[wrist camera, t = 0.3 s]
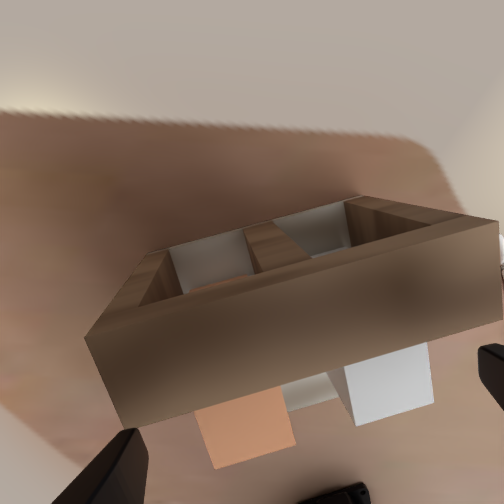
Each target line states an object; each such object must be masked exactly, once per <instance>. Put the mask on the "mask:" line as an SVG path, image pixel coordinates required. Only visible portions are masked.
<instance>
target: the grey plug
mask: <svg viewBox="0 0 504 504" xmlns="http://www.w3.org/2000/svg"><path fill="white" fill-rule="evenodd" d="M345 249H348V248H347V247H346V246H345V247H342V248H338V249H335V250H331V251H328V252H324V253H320V254H317V255H313V256H310V257H312V258H316V257H320V256H323V255H327V254H330V253H334V252H338V251H341V250H345ZM326 373H327V375H328V377H329V379H330V381H331V382H332V384H333V386H334V388H335V390H336V391H337V393H338V395H339V397H340V399H341V400H342V402H343V404H344V406H345V408H346V409H347V411H348V413H349V415H350V417H351V418H352V420H353V422H354V424H355V426H360V425H363V424H366V423H369V422H373V421H376V420H379V419H382V418H386V417H389V416H392V415H395V414H399V413H402V412H405V411H408V410H412V409H415V408H418V407H422V406H425V405H428V404H431V403H434V398H433V389H432V381H431V373H430V364H429V356H428V347H427V342H425V343H422V344H418V345H415V346H412V347H408V348H405V349H402V350H398V351H395V352H391V353H388V354H385V355H381V356H378V357H375V358H371V359H368V360H364V361H361V362H358V363H354V364H351V365H348V366H344V367H341V368H338V369H334V370H331V371H327V372H326Z"/></svg>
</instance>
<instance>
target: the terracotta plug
mask: <svg viewBox="0 0 504 504" xmlns="http://www.w3.org/2000/svg"><path fill="white" fill-rule="evenodd" d="M244 277H248V276H247V274H245V275H242V276H238V277H234V278H231V279H227V280H224V281H220V282H216V283H213V284H209V285H206V286H202V287H198V288H195V289H191V290H189V293H191V292H194V291H198V290H202V289H205V288H209V287H212V286H216V285H219V284H223V283H227V282H230V281H234V280H237V279H241V278H244ZM194 414H195V417H196V419H197V422H198V425H199V428H200V431H201V433H202V436H203V439H204V442H205V444H206V447H207V450H208V453H209V455H210V458H211V461H212V464H213V466H214V469H215V470H216V469H219V468H223V467H226V466H229V465H232V464H236V463H239V462H242V461H245V460H249V459H252V458H255V457H258V456H262V455H265V454H268V453H271V452H275V451H278V450H281V449H285V448H288V447H291V446H294V445H296V442H295V439H294V435H293V431H292V427H291V424H290V420H289V416H288V412H287V409H286V405H285V401H284V398H283V394H282V390H281V386H277V387H274V388H270V389H267V390H263V391H260V392H257V393H253V394H250V395H247V396H243V397H240V398H237V399H233V400H230V401H226V402H223V403H220V404H216V405H213V406H210V407H206V408H203V409H199V410H196V411H194Z"/></svg>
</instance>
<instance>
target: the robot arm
mask: <svg viewBox="0 0 504 504" xmlns="http://www.w3.org/2000/svg"><path fill="white" fill-rule="evenodd" d="M478 372H479V377H480V379H481V381H482V383H483V384H484V386H485V387H486V388H487V390H488V391H489V392H490V394H491V395H492V396H493V397H494V399H495V400H496V401H497V403H498V404H499V405H500V407H501V408H502V409H503V411H504V345H500V344H497V343H493V344H489V345H484V346H481V347H479V349H478ZM148 461H149V456H148V451H147V448H146V446H145V443H144V441H143V439H142V436H141V434H140V431H139V430H138V429H137V428H135V427H134V428H129V429H125V430H122V431H120V432H119V433H118V434H117V435H116V436H115V437H114V438H113V439H112V440H111V441H110V442H109V443H108V444H107V445H106V446H105V448H104V449H103V450H102V451H101V452H100V453H99V454H98V455H97V456H96V457H95V458H94V459H93V460H92V461H91V462H90V463H89V464H88V465H87V466H86V468H85V469H84V470H83V471H82V472H81V473H80V474H79V475H78V476H77V477H76V478H75V479H74V480H73V481H72V482H71V483H70V484H69V485H68V486H67V488H66V489H65V490H64V491H63V492H62V493H61V494H60V495H59V496H58V497H57V498H56V499H55V500H54V501H53V502H52V504H144V495H145V487H146V478H147V470H148ZM299 504H371V501H370V496H369V491H368V489H367V487H366V485H365V484H359V485H356V486H353V487H349V488H346V489H343V490H340V491H337V492H334V493H330V494H327V495H324V496H321V497H318V498H315V499H311V500H308V501H305V502H302V503H299Z"/></svg>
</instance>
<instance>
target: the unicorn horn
mask: <svg viewBox="0 0 504 504" xmlns="http://www.w3.org/2000/svg"><path fill="white" fill-rule="evenodd" d="M499 240H500V263H501V266H504V237H503V236H502V235H501V234H500V233H499ZM502 275H503V279H504V269H503V270H502Z"/></svg>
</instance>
